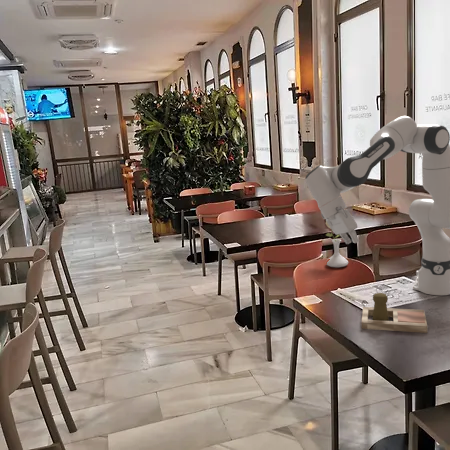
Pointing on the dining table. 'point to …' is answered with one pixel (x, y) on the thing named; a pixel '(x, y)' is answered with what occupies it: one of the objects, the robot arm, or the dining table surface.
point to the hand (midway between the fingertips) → (352, 242)
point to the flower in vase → (336, 253)
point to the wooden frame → (396, 320)
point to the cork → (380, 307)
